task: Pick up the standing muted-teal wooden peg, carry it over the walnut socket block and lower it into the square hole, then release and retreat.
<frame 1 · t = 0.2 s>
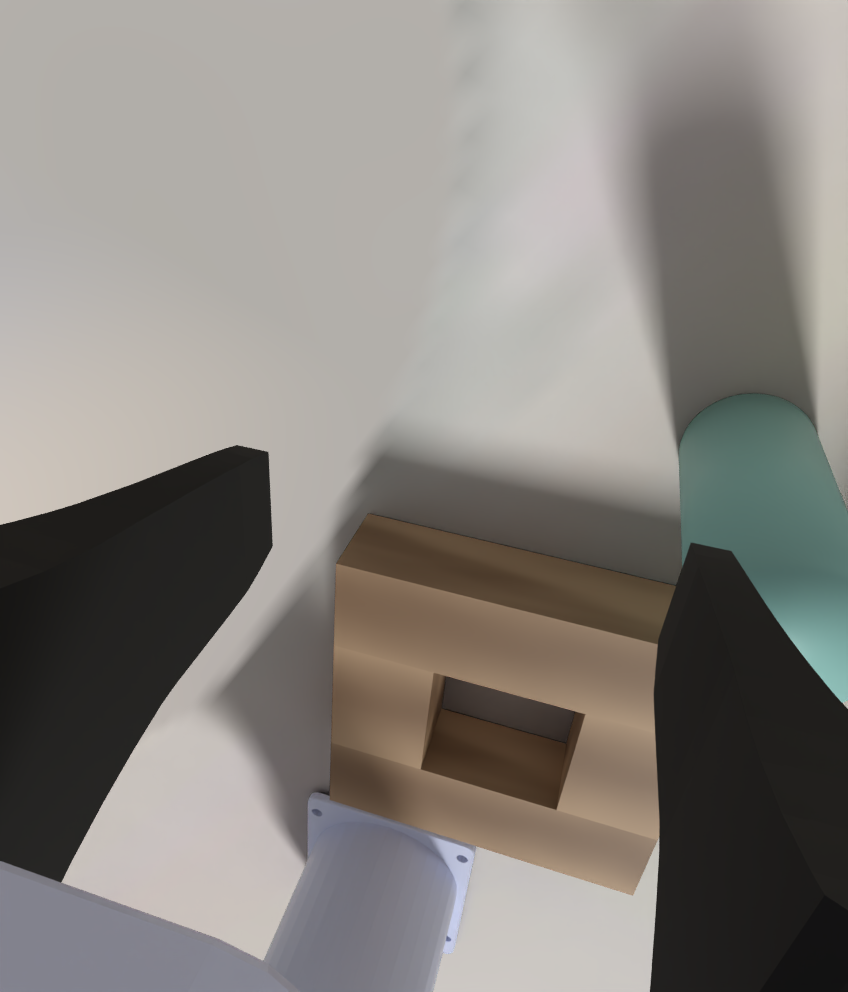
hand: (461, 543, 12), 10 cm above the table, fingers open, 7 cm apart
peg: (746, 453, 21), on the table
socket block: (512, 681, 27), on the table
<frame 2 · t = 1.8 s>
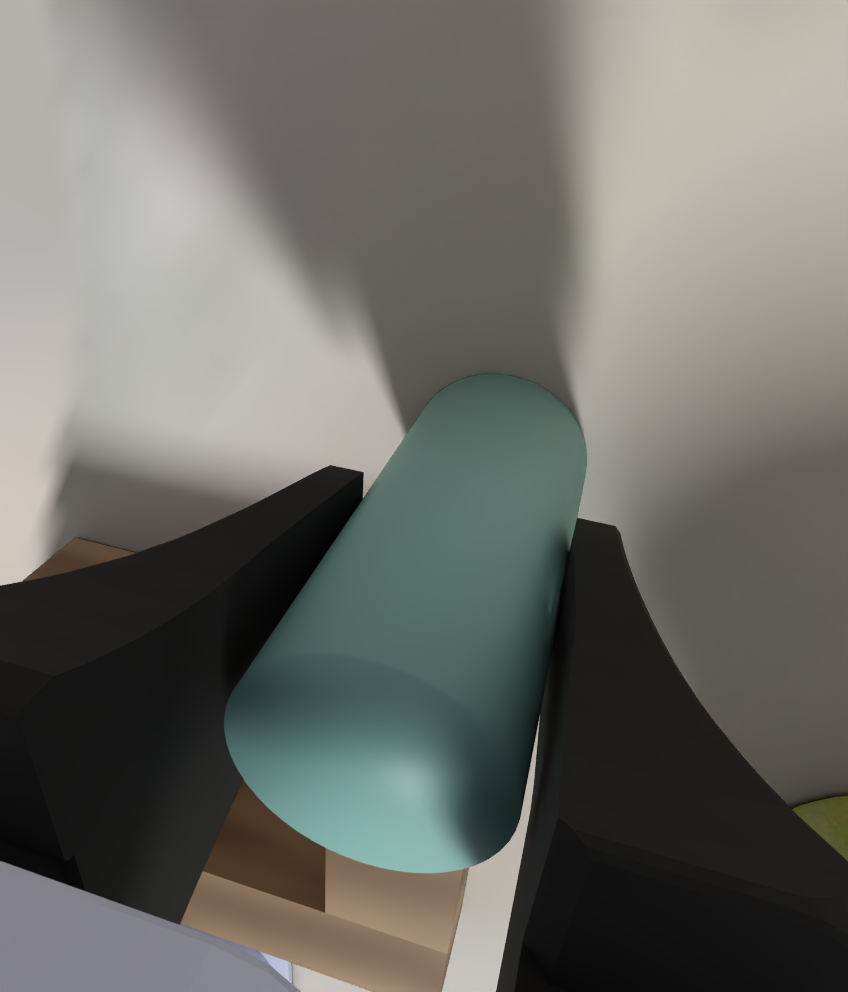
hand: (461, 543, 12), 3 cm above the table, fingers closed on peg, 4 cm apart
peg: (497, 456, 15), on the table, touching gripper
socket block: (285, 744, 22), on the table
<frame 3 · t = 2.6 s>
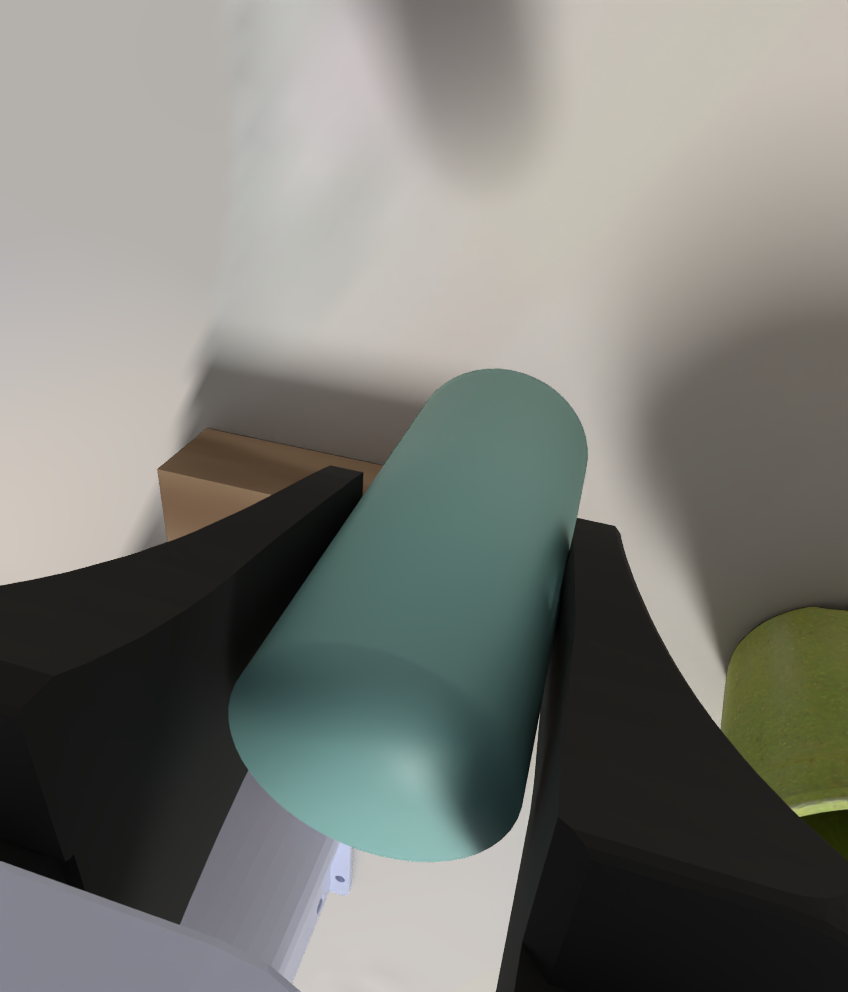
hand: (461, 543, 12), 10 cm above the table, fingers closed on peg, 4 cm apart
peg: (498, 451, 15), point 7 cm above the table, touching gripper
plant pot: (825, 670, 24), on the table
socket block: (364, 600, 27), on the table
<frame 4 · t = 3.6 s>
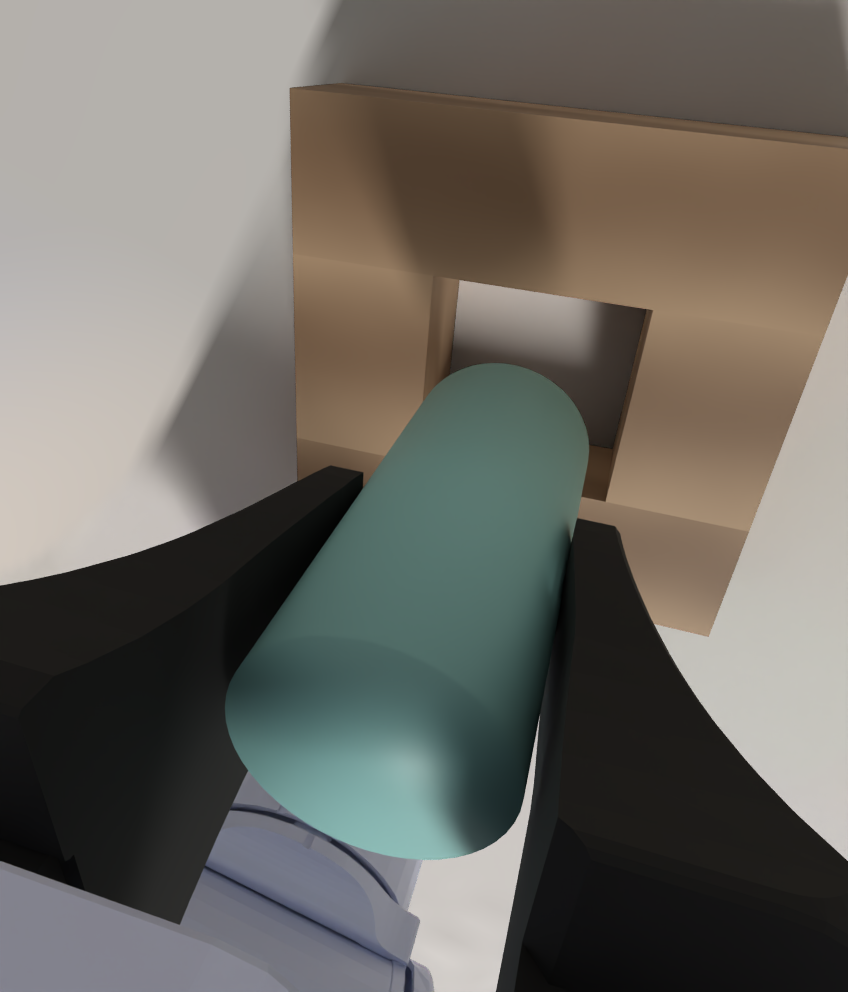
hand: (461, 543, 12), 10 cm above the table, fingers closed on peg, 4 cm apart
peg: (499, 446, 15), point 6 cm above the table, touching gripper
socket block: (540, 352, 20), on the table
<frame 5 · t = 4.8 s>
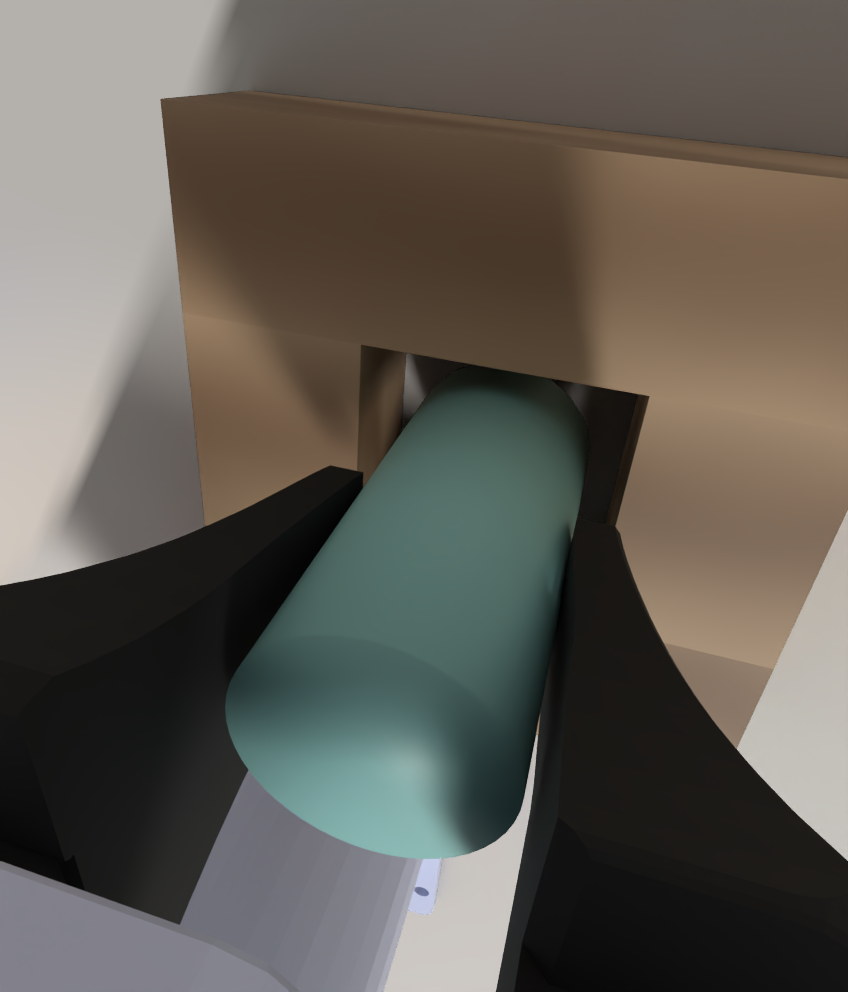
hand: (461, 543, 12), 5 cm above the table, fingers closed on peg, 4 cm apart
peg: (499, 446, 15), point 1 cm above the table, touching gripper
socket block: (510, 426, 16), on the table
when the fingers open (5 cm above the table, at t = 5.4 s): peg drops 1 cm, resting in socket block.
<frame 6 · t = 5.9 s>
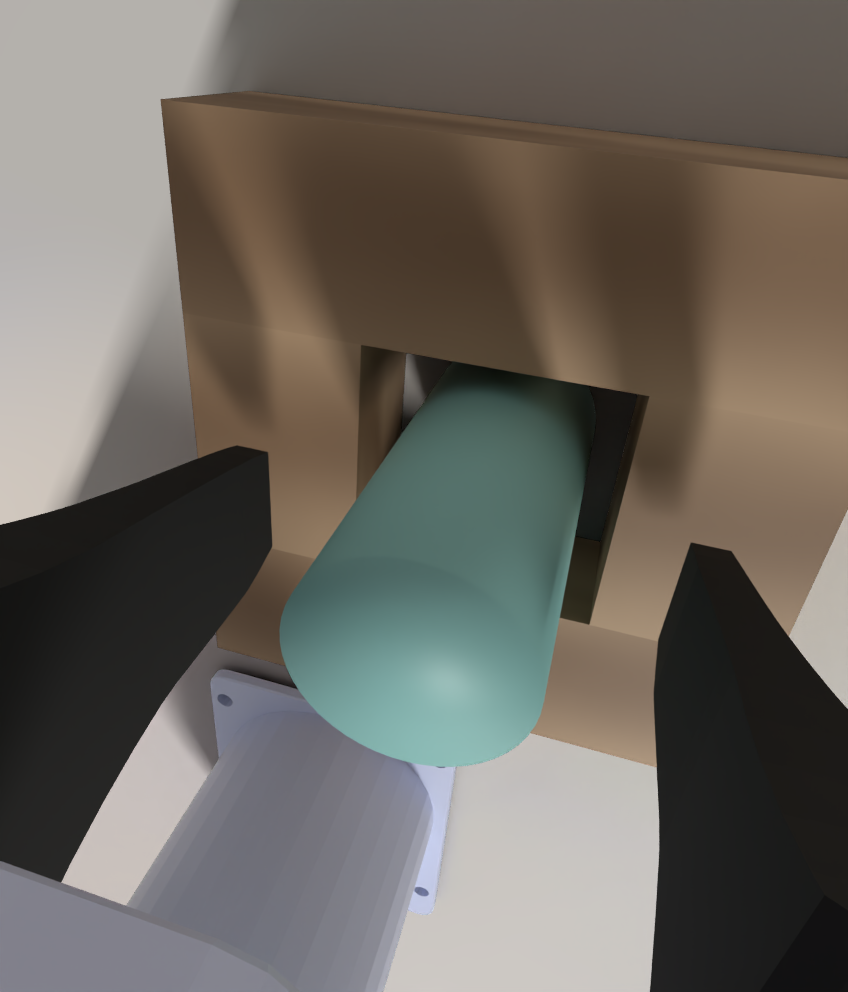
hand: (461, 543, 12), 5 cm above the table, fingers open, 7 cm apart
peg: (512, 417, 16), resting in socket block
socket block: (510, 426, 16), on the table
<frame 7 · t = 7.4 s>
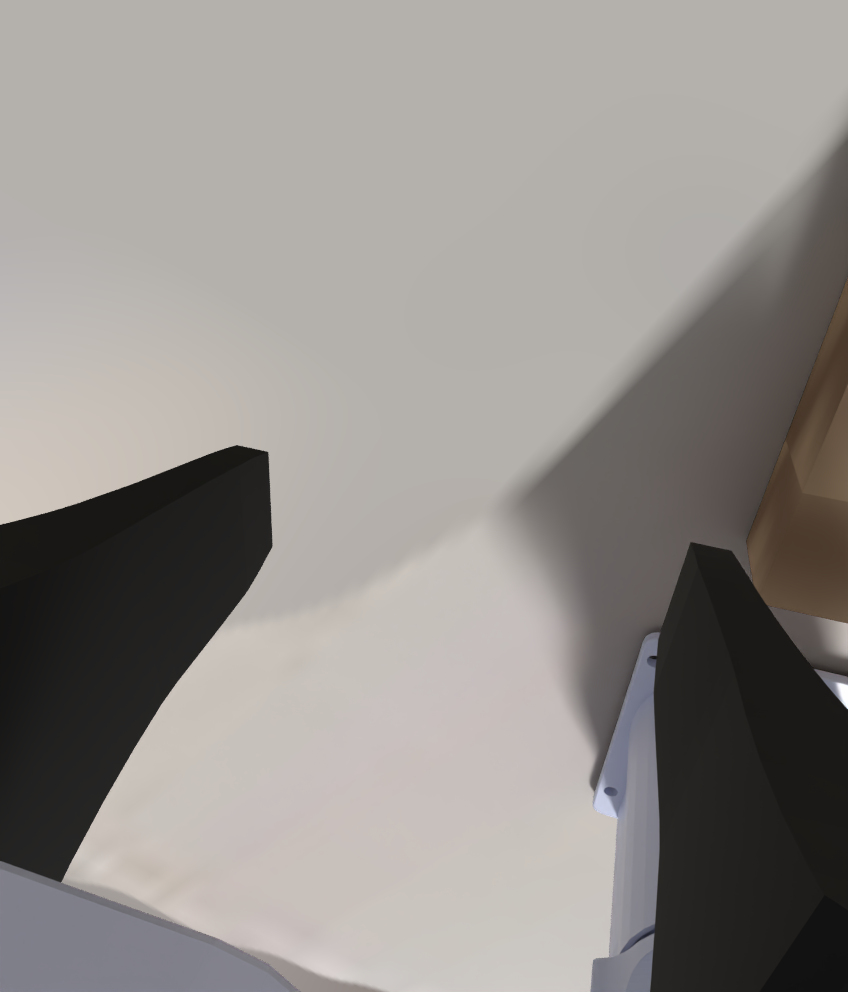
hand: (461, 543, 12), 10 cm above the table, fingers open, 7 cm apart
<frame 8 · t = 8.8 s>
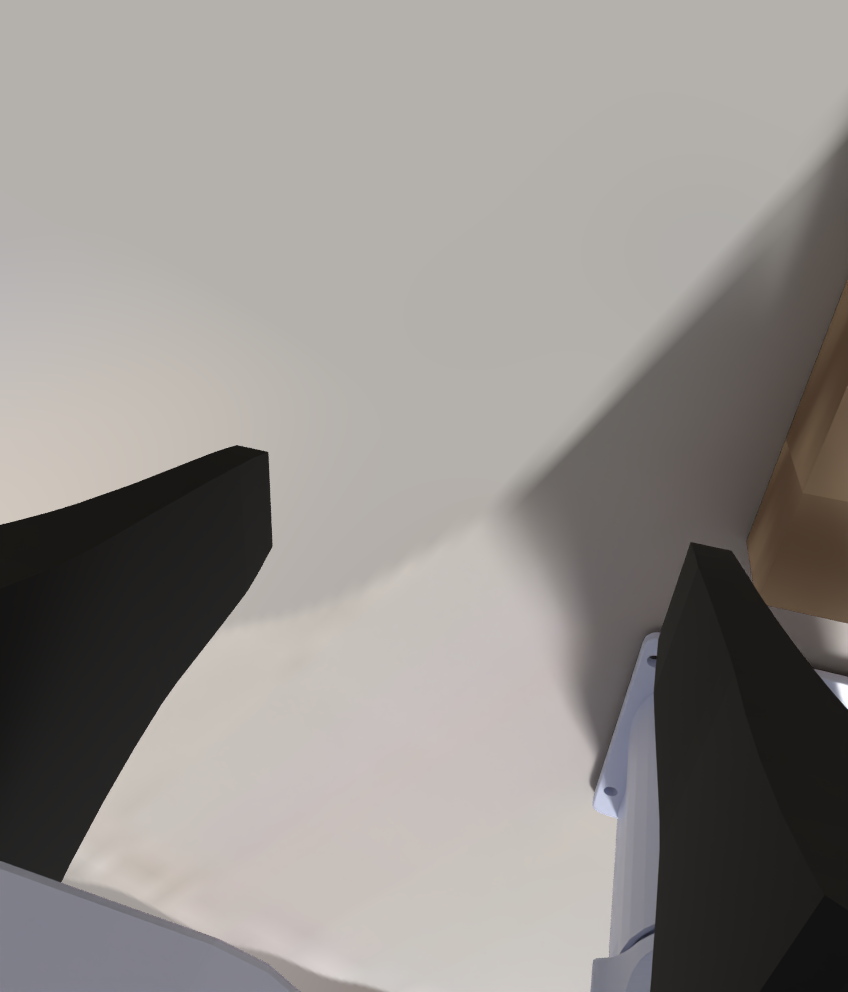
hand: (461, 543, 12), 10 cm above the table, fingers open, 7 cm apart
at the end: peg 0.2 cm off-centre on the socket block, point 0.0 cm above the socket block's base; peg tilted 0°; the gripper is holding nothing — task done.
